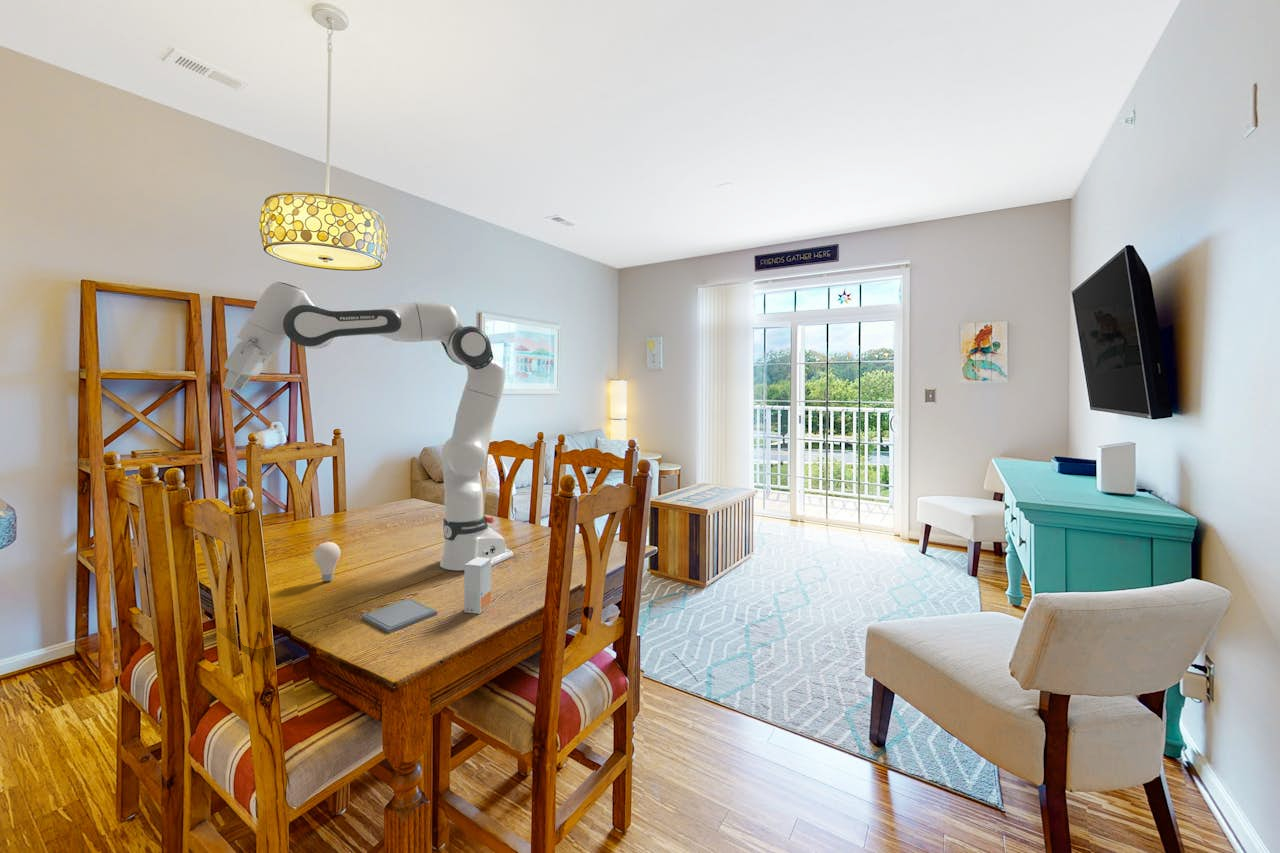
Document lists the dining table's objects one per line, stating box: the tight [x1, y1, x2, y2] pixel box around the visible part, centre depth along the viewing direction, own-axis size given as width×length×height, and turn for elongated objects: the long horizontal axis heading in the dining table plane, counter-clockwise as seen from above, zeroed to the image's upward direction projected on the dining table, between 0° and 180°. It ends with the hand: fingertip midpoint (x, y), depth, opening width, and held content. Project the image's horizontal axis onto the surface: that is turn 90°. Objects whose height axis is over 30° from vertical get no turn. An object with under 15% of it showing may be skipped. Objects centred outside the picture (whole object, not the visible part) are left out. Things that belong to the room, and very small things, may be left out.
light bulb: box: [312, 541, 342, 582], centre depth 144 cm, size 7×7×11 cm
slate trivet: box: [360, 598, 438, 634], centre depth 124 cm, size 12×12×1 cm
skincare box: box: [463, 557, 492, 615], centre depth 128 cm, size 6×4×12 cm
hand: (231, 389), depth 130 cm, fingers open, 8 cm apart
